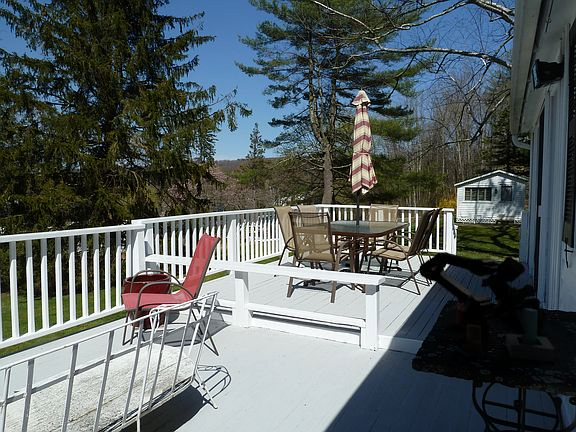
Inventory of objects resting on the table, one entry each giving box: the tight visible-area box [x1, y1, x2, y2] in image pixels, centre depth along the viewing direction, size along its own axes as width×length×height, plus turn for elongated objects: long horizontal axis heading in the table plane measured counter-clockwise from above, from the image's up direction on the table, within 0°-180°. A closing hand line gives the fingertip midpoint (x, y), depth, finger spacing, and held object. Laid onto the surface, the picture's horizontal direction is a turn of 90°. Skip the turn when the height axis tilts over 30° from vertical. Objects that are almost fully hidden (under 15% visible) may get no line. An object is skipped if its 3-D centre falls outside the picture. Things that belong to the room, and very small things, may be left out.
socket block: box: [505, 333, 556, 363], centre depth 144 cm, size 12×12×4 cm
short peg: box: [466, 324, 482, 353], centre depth 147 cm, size 4×4×8 cm
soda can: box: [456, 297, 468, 328], centre depth 174 cm, size 7×7×12 cm
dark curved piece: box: [496, 301, 548, 330], centre depth 176 cm, size 23×9×10 cm, turn 179°
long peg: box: [520, 308, 538, 345], centre depth 143 cm, size 4×4×14 cm
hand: (533, 331), depth 142 cm, fingers open, 9 cm apart
